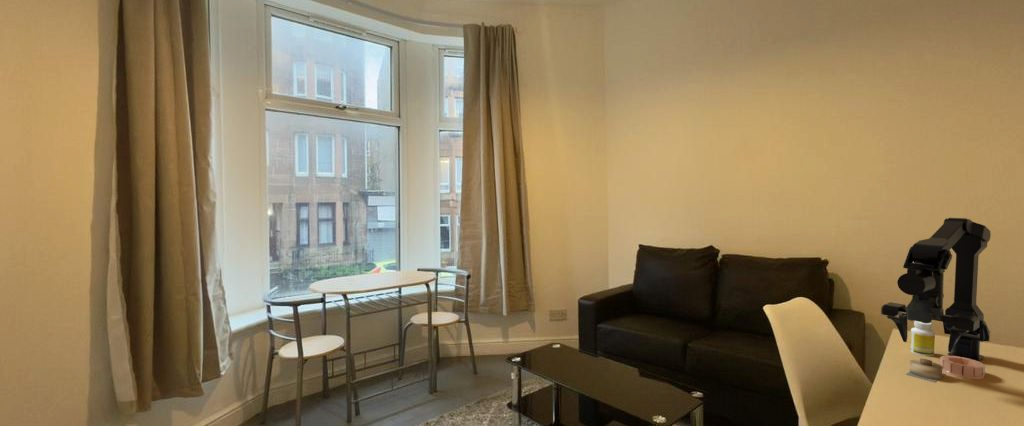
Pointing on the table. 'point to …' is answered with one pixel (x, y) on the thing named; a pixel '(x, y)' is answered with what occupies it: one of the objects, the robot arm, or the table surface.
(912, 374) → the mat
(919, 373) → the lid
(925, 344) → the supplement bottle
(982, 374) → the pink notched ring
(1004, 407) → the table surface
